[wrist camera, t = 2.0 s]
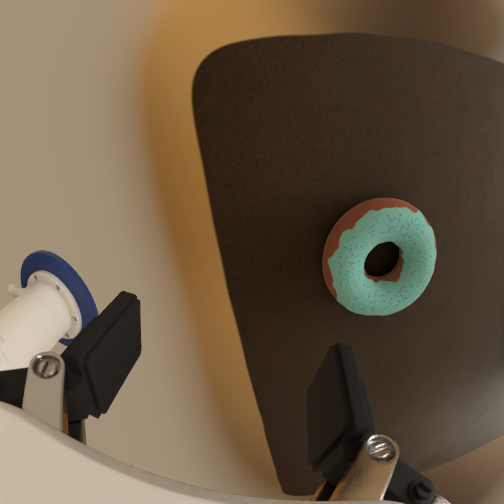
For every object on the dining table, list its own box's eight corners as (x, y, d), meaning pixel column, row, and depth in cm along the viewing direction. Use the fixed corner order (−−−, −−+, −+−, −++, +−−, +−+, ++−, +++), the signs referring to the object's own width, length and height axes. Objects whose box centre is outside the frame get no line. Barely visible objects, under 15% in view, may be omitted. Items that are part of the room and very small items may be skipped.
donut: (326, 311, 29) (331, 334, 26) (310, 204, 25) (315, 214, 22) (424, 290, 27) (438, 309, 24) (423, 186, 23) (443, 194, 20)
